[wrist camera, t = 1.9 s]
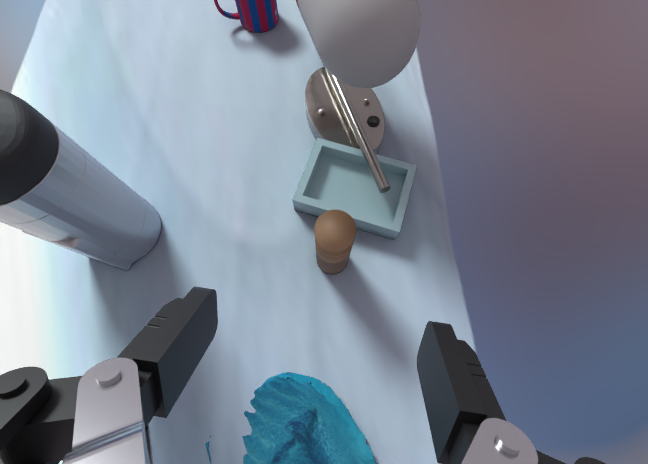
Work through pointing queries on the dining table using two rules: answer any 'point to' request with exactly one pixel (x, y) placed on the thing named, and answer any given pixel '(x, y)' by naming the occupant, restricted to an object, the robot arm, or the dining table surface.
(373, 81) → the light fixture
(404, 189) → the bin
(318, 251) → the dowel
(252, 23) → the mug
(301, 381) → the mineral
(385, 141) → the dining table surface
